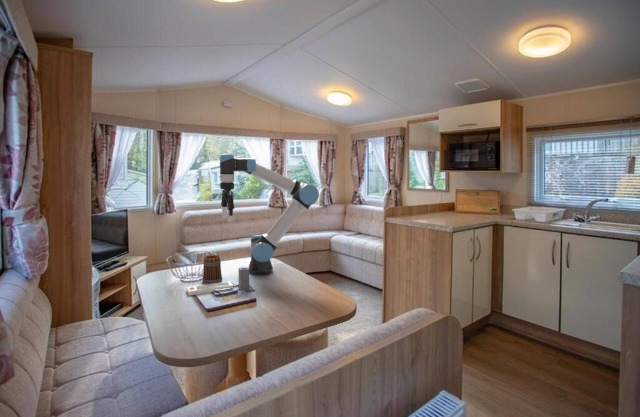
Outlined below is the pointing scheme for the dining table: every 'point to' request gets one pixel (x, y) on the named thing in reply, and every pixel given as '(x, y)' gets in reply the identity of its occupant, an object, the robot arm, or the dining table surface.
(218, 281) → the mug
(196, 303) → the dining table surface
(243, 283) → the charger
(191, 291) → the power strip
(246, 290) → the mat
